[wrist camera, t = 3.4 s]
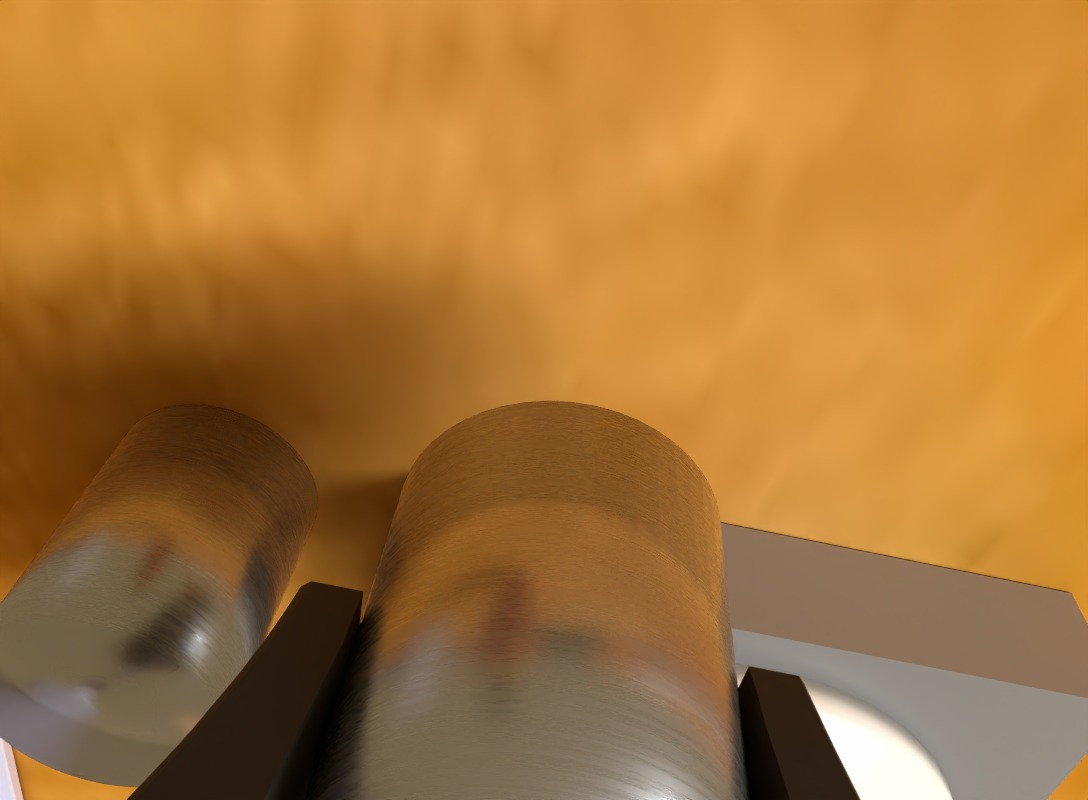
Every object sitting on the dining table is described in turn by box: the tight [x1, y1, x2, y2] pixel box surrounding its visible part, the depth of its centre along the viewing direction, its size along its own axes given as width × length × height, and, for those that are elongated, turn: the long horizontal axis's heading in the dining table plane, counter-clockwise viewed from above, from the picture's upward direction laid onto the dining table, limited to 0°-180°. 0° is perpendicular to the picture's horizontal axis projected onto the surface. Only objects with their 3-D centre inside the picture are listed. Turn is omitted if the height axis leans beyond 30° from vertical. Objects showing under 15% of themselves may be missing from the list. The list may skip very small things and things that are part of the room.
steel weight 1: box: [0, 405, 318, 787], centre depth 19 cm, size 4×4×6 cm
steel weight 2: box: [304, 401, 750, 800], centre depth 11 cm, size 4×4×6 cm
